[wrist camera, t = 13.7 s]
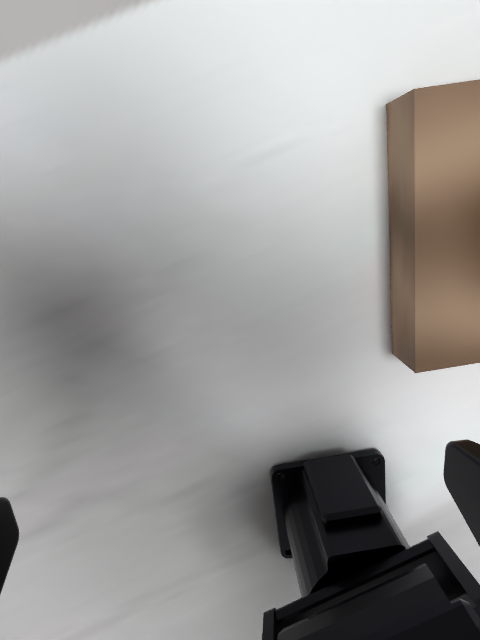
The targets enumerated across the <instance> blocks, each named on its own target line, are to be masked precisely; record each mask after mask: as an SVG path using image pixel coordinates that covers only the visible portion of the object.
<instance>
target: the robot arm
mask: <svg viewBox="0 0 480 640" xmlns="http://www.w3.org/2000/svg"><path fill="white" fill-rule="evenodd" d="M374 458H377V459H376V460H375V461H372V460H373V459H374ZM279 473H282V475H281V476H277V474H279ZM270 474H271V482H272V490H273V497H274V505H275V513H276V521H277V528H278V536H279V544H280V550H281V554H282V556H283V557H284V558H293V561H294V565H295V570H296V574H297V578H298V583H299V587H300V591H301V596H302V598H300V599H298V600H296V601H294V602H292V603H290V604H288V605H285V606H283V607H281V608H279V609H277V610H276V609H275V608H273V609H271V610H269V611H267V612H265V613H264V617H263V633H262V640H480V585H479V583H478V582H477V581H476V579H475V578H474V577H473V576H472V574H471V573H470V572H469V570H468V569H467V568H466V567H465V565H464V564H463V563H462V561H461V560H460V559H459V558H458V556H457V555H456V554H455V552H454V551H453V550H452V549H451V547H450V546H449V545H448V543H447V542H446V541H445V540H444V538H443V537H442V536H441V534H440V533H439V532H438V531H437V532H435V533H433V534H431V535H429V536H427V538H428V539H426V540H424V541H422V542H420V543H418V544H416V545H414V546H411V547H410V546H409V545H408V543H407V541H406V539H405V538H404V536H403V534H402V533H401V531H400V529H399V527H398V526H397V524H396V522H395V520H394V519H393V517H392V515H391V513H390V512H389V510H388V508H387V506H386V498H385V460H384V457H383V455H382V454H381V453H380V452H379V451H378V450H370V451H363V452H357V453H351V454H344V455H338V456H332V457H326V458H319V459H313V460H307V461H300V462H294V463H288V464H282V465H277V466H274V467H273V468H272V470H271V473H270ZM444 481H445V484H446V486H447V488H448V490H449V492H450V494H451V496H452V497H453V499H454V501H455V503H456V505H457V506H458V508H459V510H460V512H461V514H462V515H463V517H464V519H465V521H466V523H467V524H468V526H469V528H470V530H471V532H472V533H473V535H474V537H475V539H476V541H477V542H478V544H479V546H480V444H478V443H475V442H473V441H470V440H458V441H451V442H449V443H448V444H447V446H446V450H445V462H444ZM18 540H19V529H18V525H17V522H16V519H15V516H14V513H13V510H12V507H11V504H10V502H9V500H8V499H7V498H4V497H0V594H1V591H2V588H3V585H4V582H5V579H6V576H7V573H8V570H9V567H10V565H11V562H12V559H13V556H14V553H15V550H16V547H17V544H18ZM287 549H289V550H287Z"/></svg>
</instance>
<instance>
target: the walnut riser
mask: <svg viewBox="0 0 480 640" xmlns="http://www.w3.org/2000/svg"><path fill="white" fill-rule="evenodd" d="M386 111H387V153H388V194H389V236H390V277H391V319H392V354H393V355H395V356H396V357H397V358H398V359H399V360H401V361H402V362H403V363H404V364H405V365H406V366H408V367H409V368H410V369H411V370H412V371H414V372H415V373H419V372H425V371H431V370H437V369H444V368H450V367H456V366H462V365H468V364H474V363H480V80H473V81H466V82H460V83H453V84H446V85H439V86H432V87H425V88H418V89H413V90H412V91H410V92H408V93H406V94H404V95H402V96H401V97H399V98H397V99H395V100H393V101H392V102H390V103H388V104H386Z"/></svg>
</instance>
